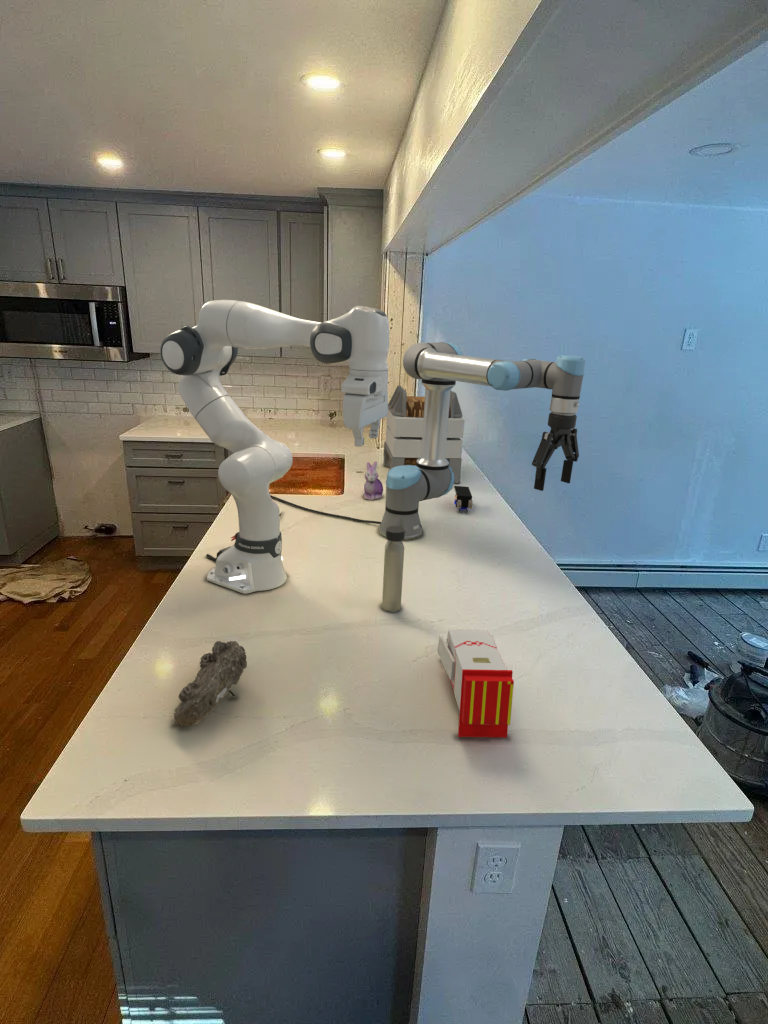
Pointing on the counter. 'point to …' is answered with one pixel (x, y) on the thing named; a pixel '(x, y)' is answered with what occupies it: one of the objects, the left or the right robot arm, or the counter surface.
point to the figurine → (372, 483)
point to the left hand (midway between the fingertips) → (366, 441)
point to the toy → (478, 682)
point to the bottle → (393, 576)
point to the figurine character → (463, 498)
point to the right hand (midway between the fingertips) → (552, 485)
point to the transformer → (419, 431)
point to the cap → (395, 533)
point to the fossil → (211, 682)
